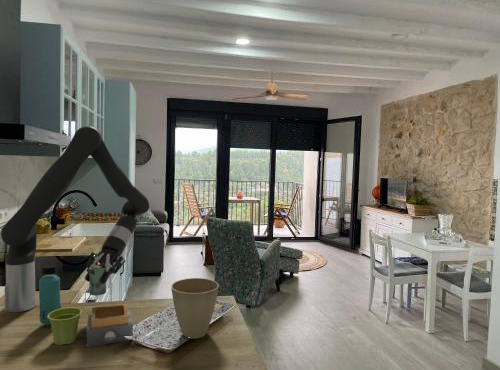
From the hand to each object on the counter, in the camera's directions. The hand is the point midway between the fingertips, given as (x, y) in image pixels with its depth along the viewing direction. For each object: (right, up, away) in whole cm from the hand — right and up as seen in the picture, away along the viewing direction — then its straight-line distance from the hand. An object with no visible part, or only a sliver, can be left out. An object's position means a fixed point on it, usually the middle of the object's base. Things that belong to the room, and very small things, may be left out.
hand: (94, 281), depth 132 cm
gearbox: (+9, -14, -10) cm, 20 cm away
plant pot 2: (+36, -15, -9) cm, 40 cm away
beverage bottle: (-13, -14, -4) cm, 19 cm away
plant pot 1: (-3, -15, -15) cm, 21 cm away
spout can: (0, -4, +1) cm, 5 cm away
